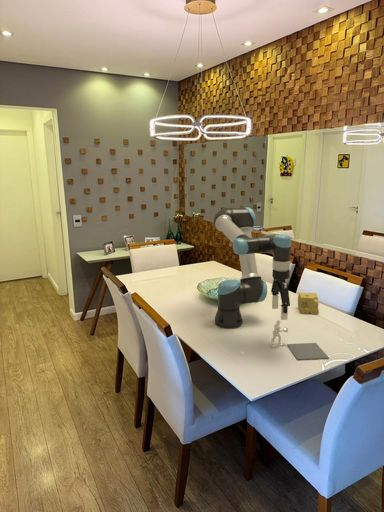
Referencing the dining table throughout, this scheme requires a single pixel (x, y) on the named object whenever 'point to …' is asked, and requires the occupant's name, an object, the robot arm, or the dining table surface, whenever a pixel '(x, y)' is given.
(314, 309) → the cheese
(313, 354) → the mat
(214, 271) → the dining table surface
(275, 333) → the figurine
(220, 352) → the dining table surface
